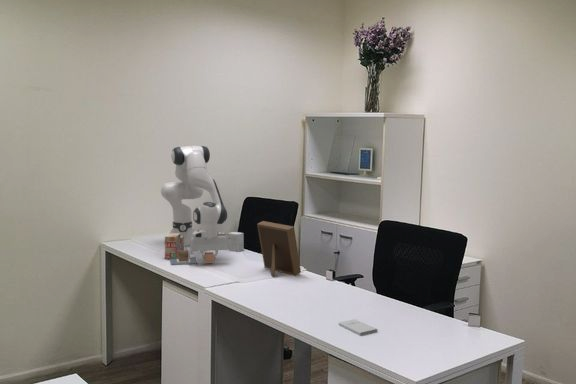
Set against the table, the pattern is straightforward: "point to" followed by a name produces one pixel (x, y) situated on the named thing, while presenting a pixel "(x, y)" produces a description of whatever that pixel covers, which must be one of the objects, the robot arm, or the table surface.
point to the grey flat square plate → (176, 261)
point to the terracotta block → (209, 257)
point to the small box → (236, 241)
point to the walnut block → (183, 255)
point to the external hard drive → (357, 327)
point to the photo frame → (279, 248)
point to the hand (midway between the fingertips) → (209, 258)
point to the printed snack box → (173, 245)
